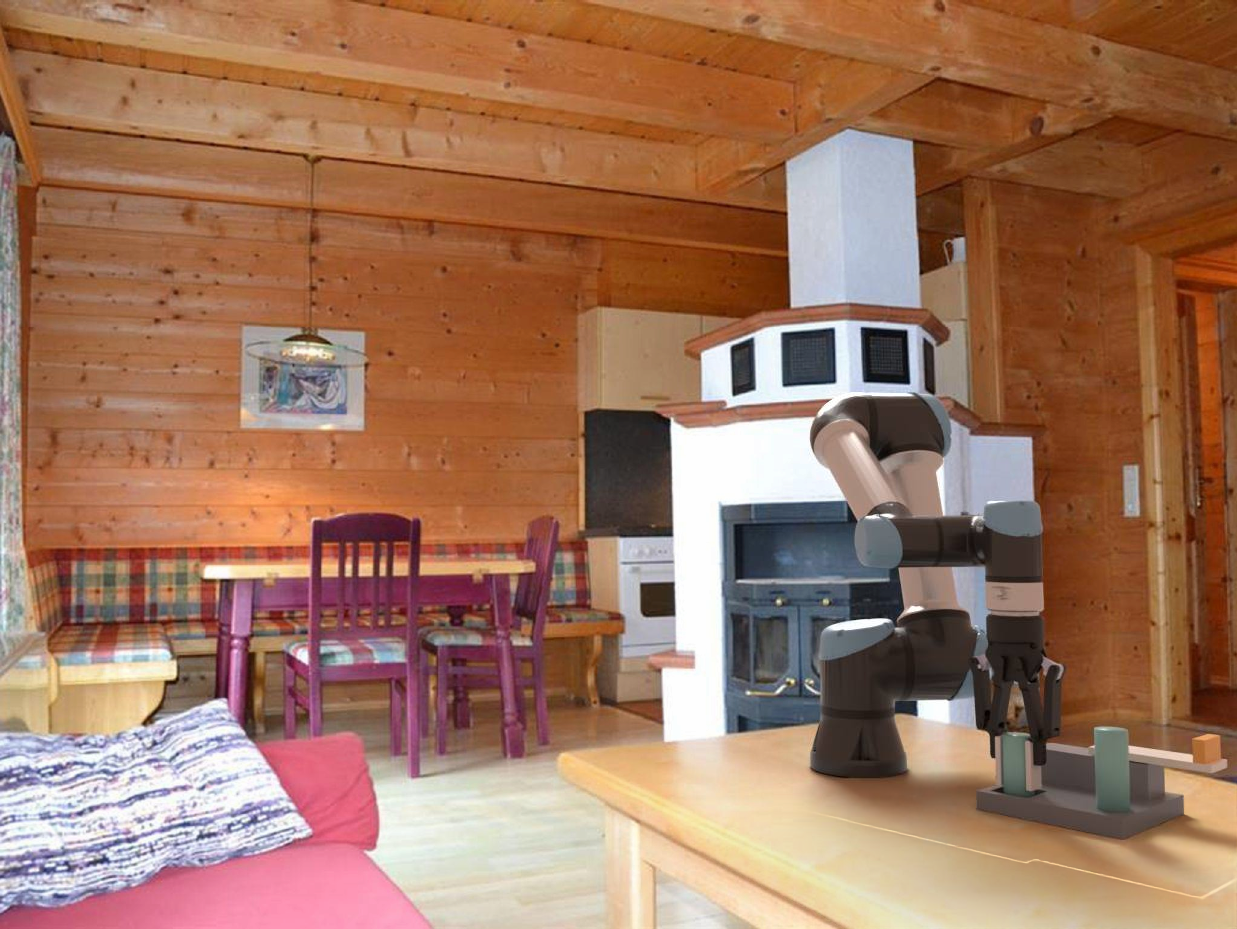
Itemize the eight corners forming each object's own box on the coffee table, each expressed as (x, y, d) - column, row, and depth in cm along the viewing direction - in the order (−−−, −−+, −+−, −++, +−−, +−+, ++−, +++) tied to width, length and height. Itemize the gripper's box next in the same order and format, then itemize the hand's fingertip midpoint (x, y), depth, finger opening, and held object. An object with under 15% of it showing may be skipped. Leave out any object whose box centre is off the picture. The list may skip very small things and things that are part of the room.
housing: (976, 809, 155) (974, 716, 156) (1042, 788, 167) (1040, 702, 168) (1122, 839, 140) (1120, 736, 141) (1184, 813, 152) (1181, 719, 153)
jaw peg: (1013, 804, 158) (1011, 731, 158) (1040, 809, 155) (1038, 735, 155) (998, 809, 155) (996, 734, 155) (1025, 814, 152) (1023, 738, 152)
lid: (1088, 754, 156) (1087, 724, 156) (1105, 749, 159) (1104, 720, 159) (1211, 773, 144) (1210, 741, 144) (1227, 767, 147) (1226, 736, 148)
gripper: (945, 611, 160) (948, 780, 159) (1059, 618, 147) (1064, 802, 146) (974, 608, 165) (977, 772, 164) (1087, 615, 152) (1091, 792, 151)
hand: (1018, 785), depth 155 cm, fingers closed on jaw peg, 4 cm apart
